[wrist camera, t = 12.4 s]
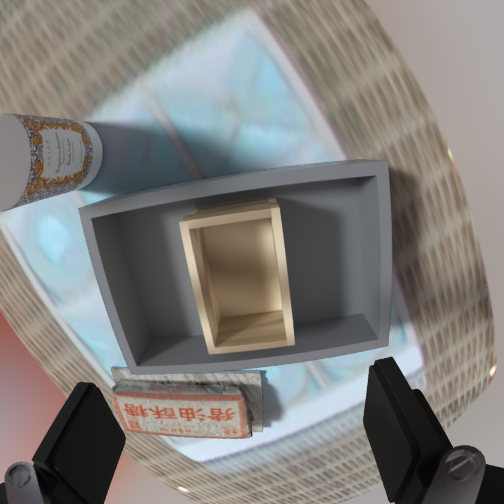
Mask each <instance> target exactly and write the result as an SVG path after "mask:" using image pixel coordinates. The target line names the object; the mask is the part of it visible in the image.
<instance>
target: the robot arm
mask: <svg viewBox="0 0 504 504" xmlns="http://www.w3.org/2000/svg"><path fill="white" fill-rule="evenodd" d="M363 424H364V428H365V431H366V434H367V437H368V440H369V443H370V446H371V448H372V451H373V454H374V457H375V460H376V463H377V466H378V469H379V472H380V476H381V479H382V482H383V485H384V488H385V491H386V494H387V497H388V500H389V502H390V503H392V502H395V504H504V468H501V467H496V466H492V465H488V464H486V461H485V457H484V455H483V454H482V453H481V451H479V450H478V449H477V448H475V447H472V446H469V445H461V446H456V447H454V448H453V446H452V444H451V443H450V441H449V439H448V437H447V435H446V434H445V432H444V430H443V428H442V426H441V424H440V423H439V421H438V419H437V417H436V416H435V414H434V412H433V410H432V409H431V407H430V405H429V404H428V402H427V400H426V399H425V397H424V395H423V393H422V392H421V391H420V390H419V389H414V390H412V389H411V387H410V386H409V384H408V382H407V380H406V379H405V377H404V375H403V374H402V372H401V370H400V368H399V367H398V365H397V363H396V362H395V360H394V359H393V357H388V358H384V359H379V360H375V362H374V365H371V366H370V367H369V375H368V384H367V393H366V401H365V409H364V416H363ZM125 441H126V437H125V434H124V432H123V430H122V429H121V427H120V425H119V424H118V422H117V420H116V418H115V417H114V415H113V413H112V411H111V409H110V408H109V406H108V404H107V402H106V400H105V398H104V396H103V394H102V392H101V390H100V389H99V388H98V387H96V385H95V384H94V383H87V382H79V383H78V384H77V385H76V386H75V388H74V389H73V391H72V393H71V394H70V396H69V397H68V399H67V401H66V402H65V404H64V405H63V407H62V409H61V410H60V412H59V414H58V415H57V417H56V418H55V420H54V422H53V423H52V425H51V427H50V428H49V430H48V432H47V434H46V435H45V437H44V439H43V440H42V442H41V444H40V446H39V448H38V449H37V451H36V453H35V454H34V456H33V458H32V461H33V462H34V465H33V466H32V465H31V464H30V463H28V462H24V461H20V462H16V463H14V464H12V465H11V466H10V467H9V468H8V469H7V471H6V473H5V480H4V481H5V482H4V483H1V484H0V504H104V501H105V498H106V495H107V492H108V490H109V486H110V484H111V481H112V478H113V475H114V472H115V469H116V467H117V464H118V461H119V458H120V456H121V453H122V450H123V448H124V445H125Z"/></svg>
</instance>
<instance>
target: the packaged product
mask: <svg viewBox="0 0 504 504" xmlns="http://www.w3.org/2000/svg"><path fill="white" fill-rule="evenodd" d="M111 371H112V374H113V377H114V380H115V383H116V385H114V386H113V388H112V398H113V400H112V403H113V407H114V409H115V410H116V413H117V415H118V419H119V422H120V423H121V426H122V429H123V430H125V431H126V430H127V431H133V432H137V433H146V434H156V435H165V436H176V437H194V438H222V439H226V438H230V439H239V438H240V439H244V438H250V437H252V432H263V414H262V405H263V398H262V381H261V375H260V370H238V371H217V372H203V373H185V374H159V375H131V374H130V371H129V369H128V368H127V367H111Z"/></svg>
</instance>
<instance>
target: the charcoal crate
mask: <svg viewBox="0 0 504 504" xmlns="http://www.w3.org/2000/svg"><path fill="white" fill-rule="evenodd" d="M273 196H274V197H275V199H276V201H277V203H278V205H279V207H280V214H281V222H282V230H283V239H284V247H285V255H286V264H287V273H288V282H289V291H290V300H291V309H292V319H293V329H294V339H295V345H291V346H283V347H276V348H268V349H259V350H251V351H241V352H231V353H221V354H209V352H208V349H207V345H206V341H205V337H204V333H203V329H202V325H201V321H200V317H199V313H198V308H197V304H196V300H195V296H194V291H193V287H192V283H191V278H190V274H189V269H188V264H187V260H186V255H185V250H184V245H183V241H182V236H181V231H180V226H179V222H180V221H181V220H182V219H183V218H184V217H185V216H186V215H187V214H188V213H190V212H191V211H192V210H193V209H194V208H198V207H204V206H211V205H217V204H224V203H230V202H237V201H244V200H251V199H258V198H265V197H273ZM78 209H79V213H80V218H81V222H82V227H83V231H84V235H85V239H86V243H87V247H88V251H89V255H90V258H91V262H92V265H93V269H94V272H95V276H96V279H97V283H98V286H99V289H100V292H101V295H102V299H103V302H104V305H105V308H106V311H107V314H108V317H109V319H110V322H111V325H112V328H113V331H114V333H115V336H116V339H117V341H118V344H119V347H120V349H121V352H122V354H123V357H124V359H125V362H126V364H127V367H128V369H129V371H130V374H131V375H159V374H185V373H203V372H217V371H229V370H240V369H250V368H260V367H268V366H277V365H284V364H292V363H299V362H305V361H312V360H318V359H324V358H330V357H336V356H341V355H347V354H352V353H357V352H362V351H367V350H372V349H377V348H381V347H386V346H388V343H389V330H390V315H391V293H392V221H391V200H390V184H389V172H388V161H380V160H367V159H358V160H346V161H334V162H324V163H314V164H305V165H296V166H287V167H279V168H271V169H264V170H256V171H249V172H242V173H236V174H229V175H223V176H217V177H211V178H205V179H199V180H193V181H187V182H182V183H177V184H171V185H166V186H161V187H156V188H151V189H146V190H141V191H137V192H132V193H127V194H123V195H118V196H114V197H110V198H106V199H104V200H101V201H98V202H95V203H92V204H89V205H87V206H84V207H81V208H78Z"/></svg>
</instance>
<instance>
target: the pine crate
mask: <svg viewBox="0 0 504 504" xmlns="http://www.w3.org/2000/svg"><path fill="white" fill-rule="evenodd" d="M179 226H180V231H181V236H182V241H183V245H184V250H185V255H186V260H187V264H188V269H189V274H190V278H191V283H192V287H193V291H194V296H195V300H196V304H197V308H198V313H199V317H200V321H201V325H202V329H203V333H204V337H205V341H206V345H207V349H208V352H209V354H221V353H231V352H241V351H251V350H259V349H268V348H276V347H283V346H291V345H295V339H294V329H293V319H292V309H291V300H290V291H289V282H288V273H287V264H286V255H285V247H284V239H283V230H282V222H281V214H280V207H279V205H278V203H277V201H276V199H275V197H274V196H273V197H265V198H258V199H251V200H244V201H237V202H230V203H224V204H217V205H211V206H204V207H198V208H194V209H193V210H192V211H191V212H190V213H188V214H187V215H186V216H185V217H184V218H183V219H182V220H181V221H180V222H179Z"/></svg>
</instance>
